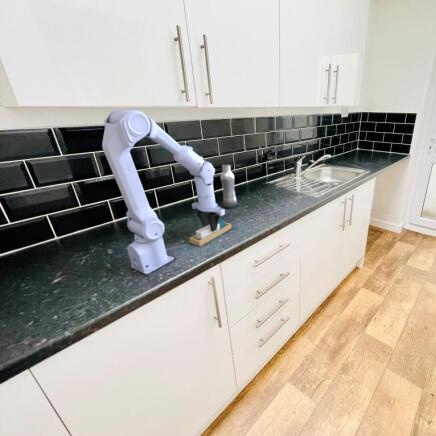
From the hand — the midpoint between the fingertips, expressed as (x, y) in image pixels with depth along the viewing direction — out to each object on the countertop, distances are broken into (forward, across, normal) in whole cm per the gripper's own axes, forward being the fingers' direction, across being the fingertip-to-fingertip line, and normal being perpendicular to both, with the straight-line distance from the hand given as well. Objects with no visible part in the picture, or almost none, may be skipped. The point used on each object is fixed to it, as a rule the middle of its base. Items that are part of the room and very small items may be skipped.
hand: (211, 229), depth 96 cm
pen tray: (+2, 0, 0) cm, 2 cm away
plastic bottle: (+3, +14, -26) cm, 30 cm away
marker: (+1, 0, 0) cm, 1 cm away
